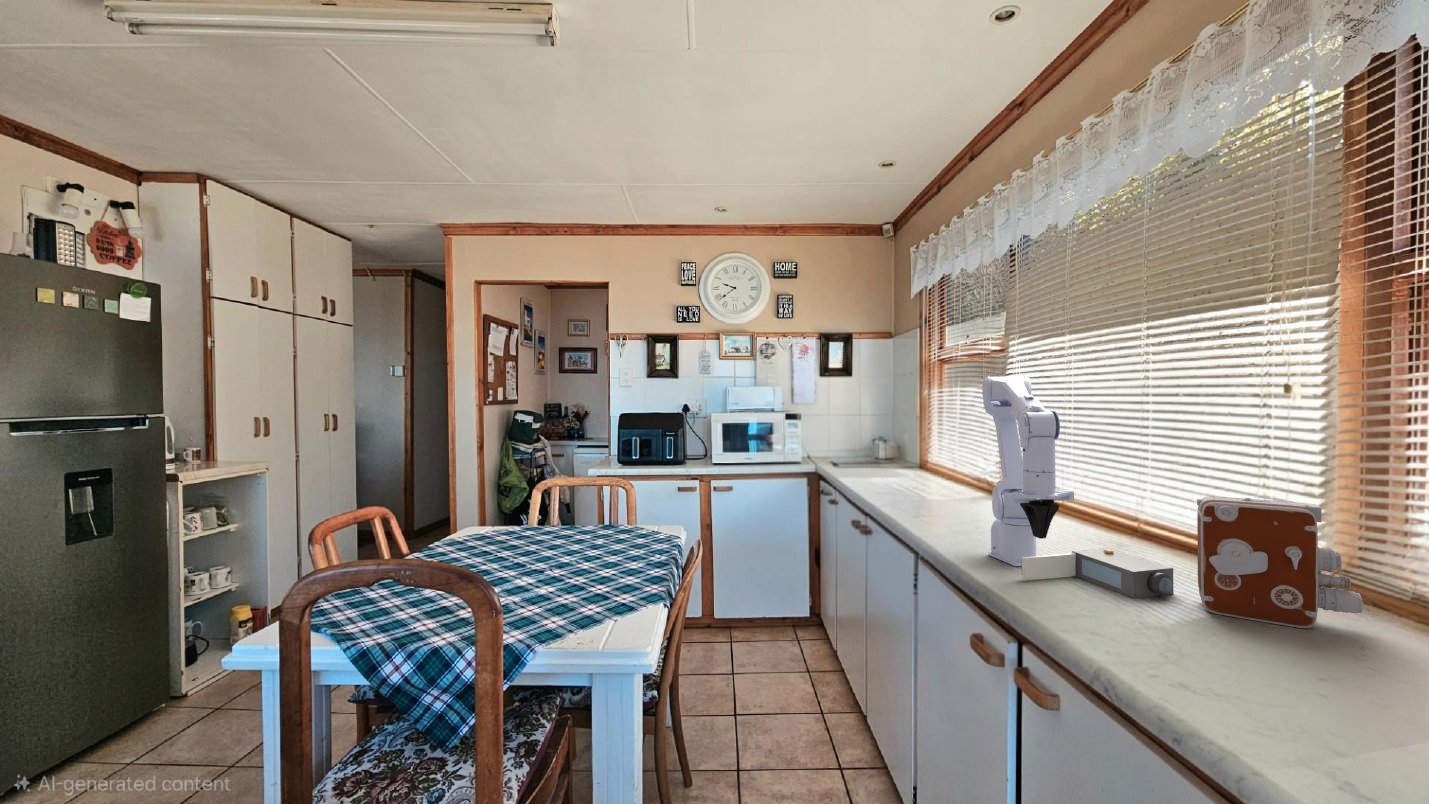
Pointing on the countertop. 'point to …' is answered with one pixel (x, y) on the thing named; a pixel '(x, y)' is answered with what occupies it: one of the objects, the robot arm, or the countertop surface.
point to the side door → (1048, 566)
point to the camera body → (1124, 572)
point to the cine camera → (1267, 562)
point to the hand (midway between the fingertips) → (1039, 537)
